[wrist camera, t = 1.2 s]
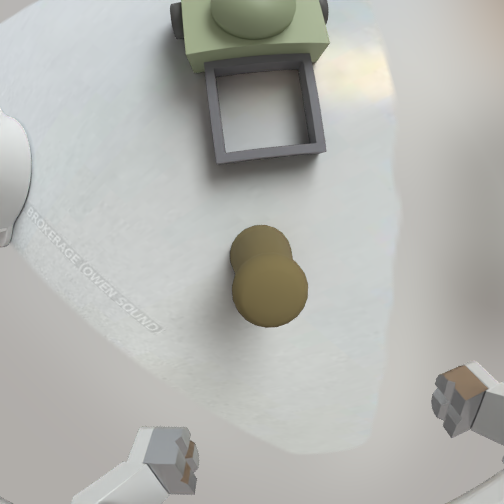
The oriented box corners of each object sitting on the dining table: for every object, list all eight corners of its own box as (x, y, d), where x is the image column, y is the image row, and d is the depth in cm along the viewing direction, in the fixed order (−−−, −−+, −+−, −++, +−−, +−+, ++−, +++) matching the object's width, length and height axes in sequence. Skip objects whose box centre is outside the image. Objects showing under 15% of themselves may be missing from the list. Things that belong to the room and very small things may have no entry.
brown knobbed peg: (236, 290, 30) (236, 348, 20) (223, 231, 29) (214, 264, 18) (295, 278, 30) (323, 330, 20) (285, 219, 29) (312, 244, 18)
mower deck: (193, 168, 27) (180, 166, 21) (176, 13, 23) (164, -17, 17) (342, 151, 27) (367, 146, 21) (313, 2, 23) (327, -28, 17)
